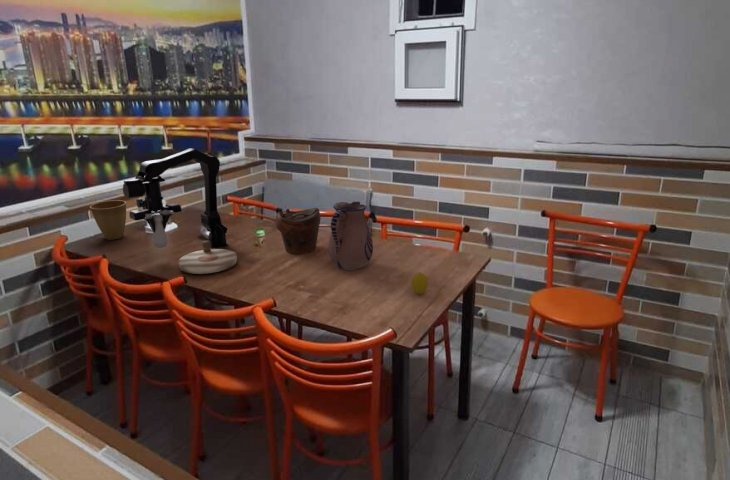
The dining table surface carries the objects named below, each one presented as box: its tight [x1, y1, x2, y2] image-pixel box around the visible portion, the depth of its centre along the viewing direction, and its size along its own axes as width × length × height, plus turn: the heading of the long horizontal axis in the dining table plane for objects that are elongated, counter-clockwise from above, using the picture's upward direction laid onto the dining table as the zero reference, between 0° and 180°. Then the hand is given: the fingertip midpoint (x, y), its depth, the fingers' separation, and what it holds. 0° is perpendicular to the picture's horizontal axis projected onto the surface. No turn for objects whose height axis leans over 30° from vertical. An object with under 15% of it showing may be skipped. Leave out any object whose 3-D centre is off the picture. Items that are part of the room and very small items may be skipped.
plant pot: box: [89, 199, 127, 241], centre depth 231 cm, size 15×15×16 cm
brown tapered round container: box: [275, 207, 322, 255], centre depth 213 cm, size 18×20×18 cm
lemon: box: [411, 272, 429, 295], centre depth 170 cm, size 6×6×8 cm
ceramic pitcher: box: [327, 201, 374, 271], centre depth 191 cm, size 18×21×25 cm
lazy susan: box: [178, 240, 238, 275], centre depth 197 cm, size 22×22×6 cm
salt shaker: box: [151, 214, 169, 249], centre depth 200 cm, size 6×6×13 cm
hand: (159, 232), depth 200 cm, fingers closed on salt shaker, 3 cm apart
